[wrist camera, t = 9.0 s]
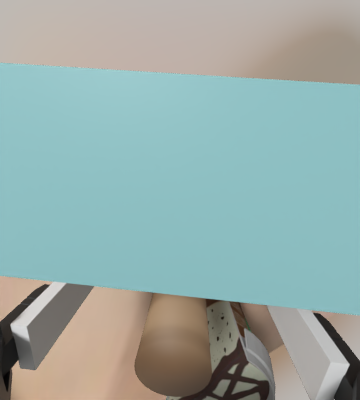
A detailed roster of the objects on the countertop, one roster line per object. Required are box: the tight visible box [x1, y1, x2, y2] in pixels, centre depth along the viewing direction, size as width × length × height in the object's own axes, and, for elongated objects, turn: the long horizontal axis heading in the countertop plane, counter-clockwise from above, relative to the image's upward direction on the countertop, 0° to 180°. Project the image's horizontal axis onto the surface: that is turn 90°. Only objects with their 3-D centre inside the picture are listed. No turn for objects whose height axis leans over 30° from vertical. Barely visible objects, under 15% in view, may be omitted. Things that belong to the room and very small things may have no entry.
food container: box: [166, 298, 275, 400], centre depth 20 cm, size 12×6×10 cm, turn 146°
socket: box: [0, 63, 360, 315], centre depth 13 cm, size 20×14×16 cm
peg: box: [135, 293, 212, 397], centre depth 15 cm, size 3×3×14 cm
